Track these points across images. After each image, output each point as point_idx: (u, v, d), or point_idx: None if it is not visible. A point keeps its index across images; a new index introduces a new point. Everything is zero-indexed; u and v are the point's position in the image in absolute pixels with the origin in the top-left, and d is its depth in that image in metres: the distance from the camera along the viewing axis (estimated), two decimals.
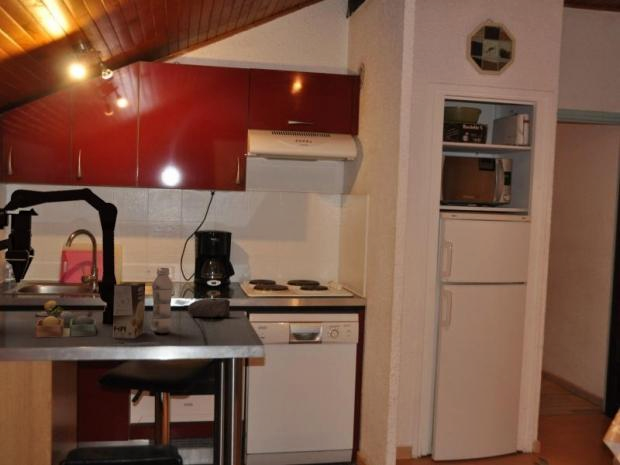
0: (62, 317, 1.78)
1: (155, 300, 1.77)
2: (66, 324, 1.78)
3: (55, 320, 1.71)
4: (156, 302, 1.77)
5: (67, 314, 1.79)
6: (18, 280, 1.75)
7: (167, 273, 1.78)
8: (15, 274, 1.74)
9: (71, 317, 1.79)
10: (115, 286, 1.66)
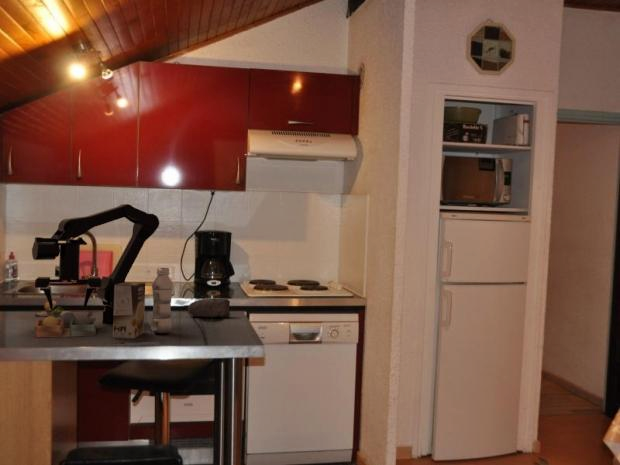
0: (62, 317, 1.78)
1: (155, 300, 1.77)
2: (66, 324, 1.78)
3: (55, 320, 1.71)
4: (156, 302, 1.77)
5: (67, 314, 1.79)
6: None
7: (167, 273, 1.78)
8: None
9: (71, 317, 1.79)
10: (115, 286, 1.66)
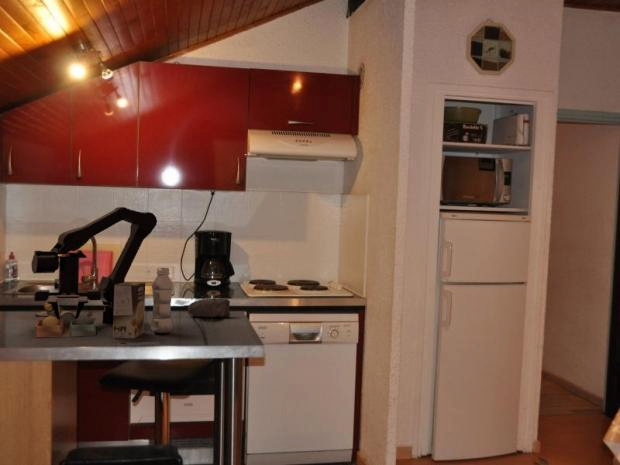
0: (62, 317, 1.78)
1: (155, 300, 1.77)
2: (66, 324, 1.78)
3: (55, 320, 1.71)
4: (156, 302, 1.77)
5: (67, 314, 1.79)
6: None
7: (167, 273, 1.78)
8: None
9: (71, 317, 1.79)
10: (115, 286, 1.66)
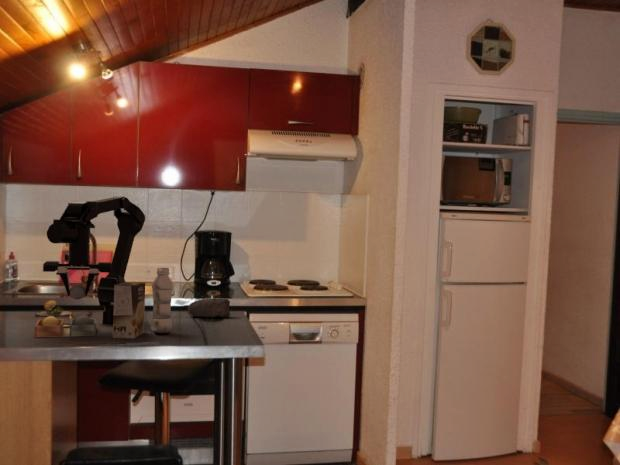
0: (72, 289, 1.71)
1: (155, 300, 1.77)
2: (76, 297, 1.71)
3: (55, 320, 1.71)
4: (156, 302, 1.77)
5: (77, 286, 1.71)
6: (67, 293, 1.72)
7: (167, 273, 1.78)
8: None
9: (81, 290, 1.71)
10: (115, 286, 1.66)
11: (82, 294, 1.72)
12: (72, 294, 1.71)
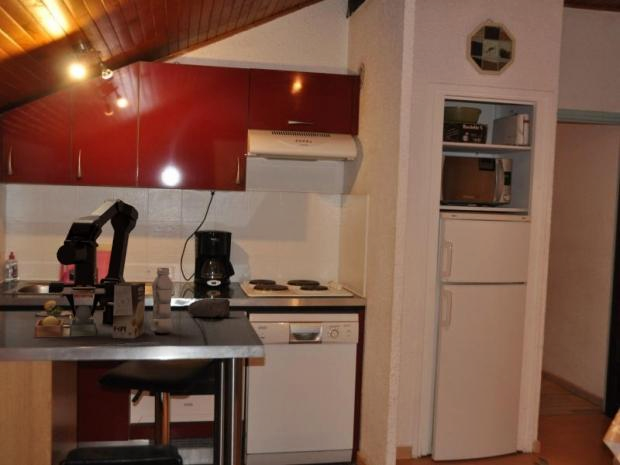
0: (78, 310, 1.68)
1: (155, 300, 1.77)
2: (82, 317, 1.68)
3: (55, 320, 1.71)
4: (156, 302, 1.77)
5: (83, 307, 1.69)
6: (73, 314, 1.69)
7: (167, 273, 1.78)
8: None
9: (87, 310, 1.69)
10: (115, 286, 1.66)
11: (88, 315, 1.69)
12: (78, 315, 1.68)
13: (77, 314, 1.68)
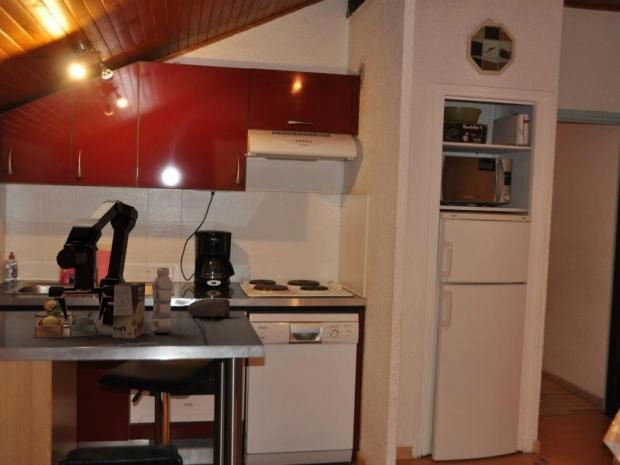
0: (77, 324, 1.68)
1: (155, 300, 1.77)
2: None
3: (55, 320, 1.71)
4: (156, 302, 1.77)
5: (83, 320, 1.69)
6: (65, 318, 1.68)
7: (167, 273, 1.78)
8: None
9: (87, 324, 1.69)
10: (115, 286, 1.66)
11: None
12: None
13: None
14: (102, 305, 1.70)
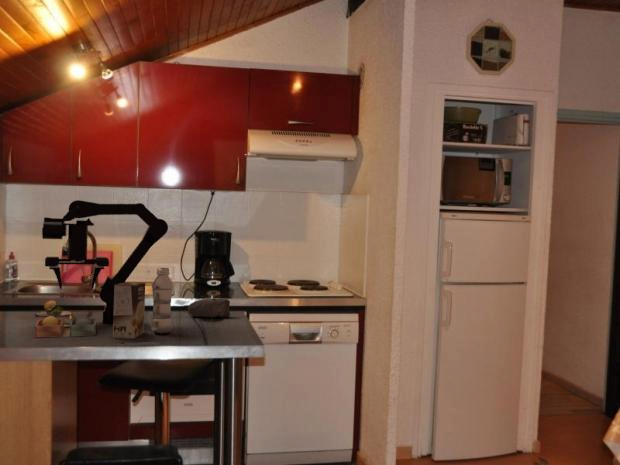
0: (78, 323, 1.68)
1: (155, 300, 1.77)
2: None
3: (55, 320, 1.71)
4: (156, 302, 1.77)
5: (83, 320, 1.69)
6: None
7: (167, 273, 1.78)
8: None
9: (87, 324, 1.69)
10: (115, 286, 1.66)
11: None
12: None
13: None
14: (95, 274, 1.86)
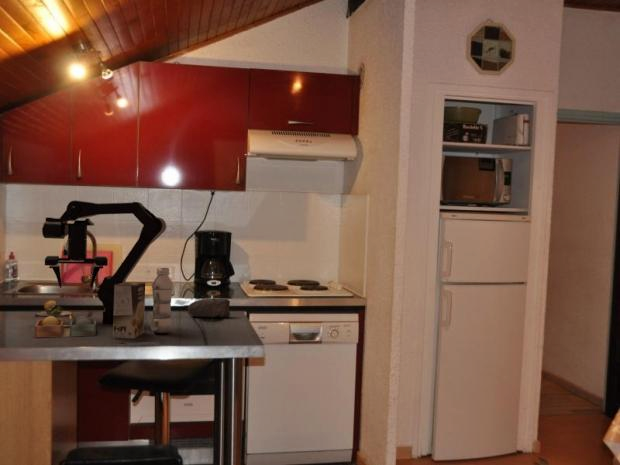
0: (78, 323, 1.68)
1: (155, 300, 1.77)
2: None
3: (55, 320, 1.71)
4: (156, 302, 1.77)
5: (84, 320, 1.69)
6: (59, 285, 1.87)
7: (167, 273, 1.78)
8: None
9: (88, 324, 1.69)
10: (115, 286, 1.66)
11: None
12: None
13: None
14: (93, 274, 1.89)
